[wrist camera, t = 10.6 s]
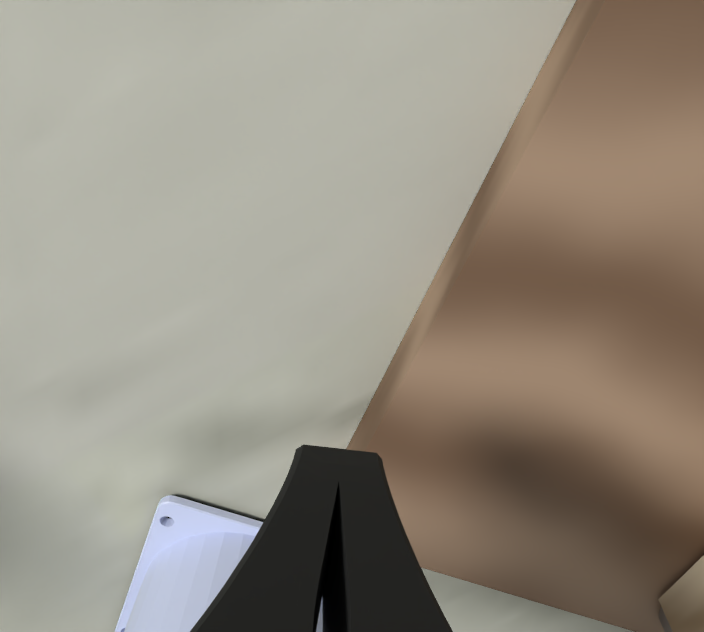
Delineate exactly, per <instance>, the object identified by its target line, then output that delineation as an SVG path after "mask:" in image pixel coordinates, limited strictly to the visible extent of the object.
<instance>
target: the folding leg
mask: <svg viewBox="0 0 704 632" xmlns="http://www.w3.org/2000/svg"><path fill="white" fill-rule="evenodd" d="M658 600H659V602H660V604H661V608H660V611H659V620H660V622H661V625H662V627H663V629H664V632H704V555H703V556H702V557H701V558H700V559H699V560H698V561H697V562H696V563H695V564H694V565H693V566H692V567H691V568H690V569H689V570H688V571H687V572H686V573H685V574H684V575H683V576H682V577H681V578H680V579H679V580H678V581H677V582H676V583H675V584H674V585H673V586H672V587H671V588H670V589H668V590H667V591H666V592H665V593H664V594H663V595H662V596H661V597H660V598H659V599H658Z"/></svg>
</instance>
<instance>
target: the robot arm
mask: <svg viewBox="0 0 704 632" xmlns="http://www.w3.org/2000/svg"><path fill="white" fill-rule="evenodd" d="M165 516H167V517H170V518H167V517H165ZM322 631H323V632H453V631H452V629H451V627H450V626H449V624H448V622H447V620H446V618H445V616H444V614H443V612H442V610H441V608H440V606H439V604H438V602H437V600H436V598H435V596H434V594H433V592H432V590H431V589H430V587H429V584H428V582H427V580H426V578H425V576H424V574H423V572H422V569H421V567H420V565H419V563H418V560H417V558H416V556H415V553H414V551H413V549H412V546H411V544H410V542H409V539H408V537H407V535H406V532H405V530H404V527H403V525H402V522H401V520H400V517H399V514H398V511H397V509H396V506H395V503H394V500H393V497H392V494H391V491H390V488H389V485H388V481H387V478H386V474H385V470H384V466H383V461H382V458H381V457H380V456H379V455H378V454H377V453H374V452H365V451H356V450H347V449H338V448H329V447H319V446H310V445H302V446H301V447H299V448H298V449H296V452H295V455H294V459H293V462H292V465H291V467H290V470H289V473H288V475H287V477H286V480H285V482H284V484H283V486H282V488H281V490H280V492H279V494H278V496H277V498H276V500H275V502H274V504H273V506H272V508H271V510H270V512H269V513H268V515H267V517H266V519H265V521H264V522H261V521H257V520H254V519H251V518H247V517H244V516H241V515H237V514H234V513H231V512H227V511H224V510H221V509H217V508H214V507H211V506H207V505H204V504H201V503H197V502H194V501H191V500H187V499H184V498H181V497H177V496H172V495H169V496H165V497H163V498H162V499H161V500H160V501H159V504H158V507H157V509H156V512H155V515H154V518H153V521H152V524H151V527H150V530H149V533H148V536H147V538H146V541H145V544H144V547H143V550H142V553H141V556H140V559H139V562H138V565H137V568H136V571H135V573H134V576H133V579H132V582H131V585H130V588H129V591H128V594H127V597H126V600H125V603H124V606H123V608H122V611H121V614H120V617H119V620H118V623H117V626H116V629H115V632H322Z"/></svg>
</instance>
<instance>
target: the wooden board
mask: <svg viewBox="0 0 704 632" xmlns="http://www.w3.org/2000/svg"><path fill="white" fill-rule="evenodd" d="M347 450H356V451H365V452H374V453H377V454H378V455H379V456H380V457H381V458H382V461H383V466H384V470H385V474H386V478H387V481H388V485H389V488H390V491H391V494H392V497H393V500H394V503H395V506H396V509H397V511H398V514H399V517H400V520H401V522H402V525H403V527H404V530H405V532H406V535H407V537H408V539H409V542H410V544H411V546H412V549H413V551H414V553H415V556H416V558H417V560H418V563H419V565H420V567H422V568H425V569H429V570H432V571H435V572H439V573H442V574H445V575H449V576H452V577H455V578H459V579H462V580H465V581H469V582H472V583H475V584H479V585H482V586H485V587H488V588H492V589H495V590H498V591H502V592H505V593H508V594H512V595H515V596H518V597H522V598H525V599H528V600H532V601H535V602H538V603H542V604H545V605H548V606H552V607H555V608H558V609H562V610H565V611H568V612H572V613H575V614H578V615H582V616H585V617H588V618H592V619H595V620H598V621H602V622H605V623H608V624H612V625H615V626H618V627H622V628H625V629H628V630H632V631H635V632H664V629H663V627H662V625H661V622H660V620H659V611H660V608H661V604H660V602H659V600H658V599H659V598H660V597H661V596H662V595H663V594H664V593H665V592H666V591H667V590H668V589H670V588H671V587H672V586H673V585H674V584H675V583H676V582H677V581H678V580H679V579H680V578H681V577H682V576H683V575H684V574H685V573H686V572H687V571H688V570H689V569H690V568H691V567H692V566H693V565H694V564H695V563H696V562H697V561H698V560H699V559H700V558H701V557H702V556H703V555H704V0H577V1H576V2H575V4H574V6H573V8H572V10H571V12H570V14H569V16H568V18H567V20H566V22H565V24H564V26H563V28H562V30H561V32H560V34H559V36H558V38H557V39H556V41H555V43H554V45H553V47H552V49H551V51H550V53H549V55H548V57H547V59H546V61H545V63H544V65H543V67H542V69H541V71H540V73H539V75H538V77H537V78H536V80H535V82H534V84H533V86H532V88H531V90H530V92H529V94H528V96H527V98H526V100H525V102H524V104H523V106H522V108H521V110H520V112H519V114H518V115H517V117H516V119H515V121H514V123H513V125H512V127H511V129H510V131H509V133H508V135H507V137H506V139H505V141H504V143H503V145H502V147H501V149H500V151H499V153H498V154H497V156H496V158H495V160H494V162H493V164H492V166H491V168H490V170H489V172H488V174H487V176H486V178H485V180H484V182H483V184H482V186H481V188H480V190H479V192H478V193H477V195H476V197H475V199H474V201H473V203H472V205H471V207H470V209H469V211H468V213H467V215H466V217H465V219H464V221H463V223H462V225H461V227H460V229H459V230H458V232H457V234H456V236H455V238H454V240H453V242H452V244H451V246H450V248H449V250H448V252H447V254H446V256H445V258H444V260H443V262H442V264H441V266H440V268H439V269H438V271H437V273H436V275H435V277H434V279H433V281H432V283H431V285H430V287H429V289H428V291H427V293H426V295H425V297H424V299H423V301H422V303H421V305H420V306H419V308H418V310H417V312H416V314H415V316H414V318H413V320H412V322H411V324H410V326H409V328H408V330H407V332H406V334H405V336H404V338H403V340H402V342H401V344H400V345H399V347H398V349H397V351H396V353H395V355H394V357H393V359H392V361H391V363H390V365H389V367H388V369H387V371H386V373H385V375H384V377H383V379H382V381H381V382H380V384H379V386H378V388H377V390H376V392H375V394H374V396H373V398H372V400H371V402H370V404H369V406H368V408H367V410H366V412H365V414H364V416H363V418H362V420H361V421H360V423H359V425H358V427H357V429H356V431H355V433H354V435H353V437H352V439H351V441H350V443H349V445H348V447H347Z"/></svg>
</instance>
